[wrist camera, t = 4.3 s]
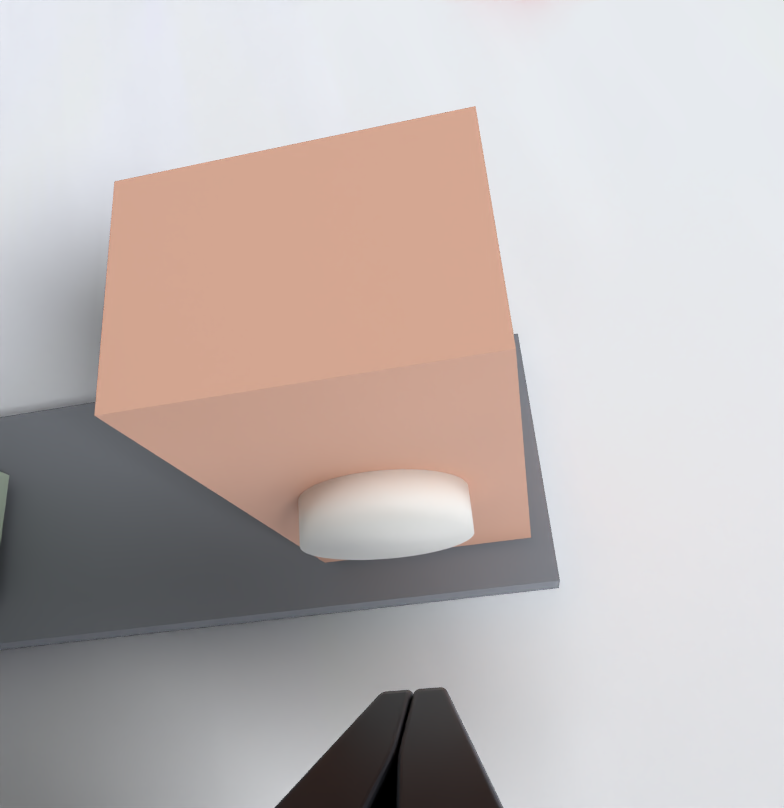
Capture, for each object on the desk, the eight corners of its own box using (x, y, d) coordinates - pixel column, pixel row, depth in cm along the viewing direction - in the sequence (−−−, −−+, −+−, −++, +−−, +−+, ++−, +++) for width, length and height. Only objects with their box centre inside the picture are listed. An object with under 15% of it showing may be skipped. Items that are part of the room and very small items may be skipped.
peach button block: (536, 571, 17) (527, 415, 8) (326, 596, 17) (89, 479, 8) (509, 400, 18) (475, 106, 9) (318, 429, 19) (114, 181, 10)
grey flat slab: (558, 587, 18) (559, 580, 17) (-149, 666, 21) (-188, 664, 20) (518, 353, 20) (517, 333, 19) (-107, 452, 23) (-139, 439, 22)
